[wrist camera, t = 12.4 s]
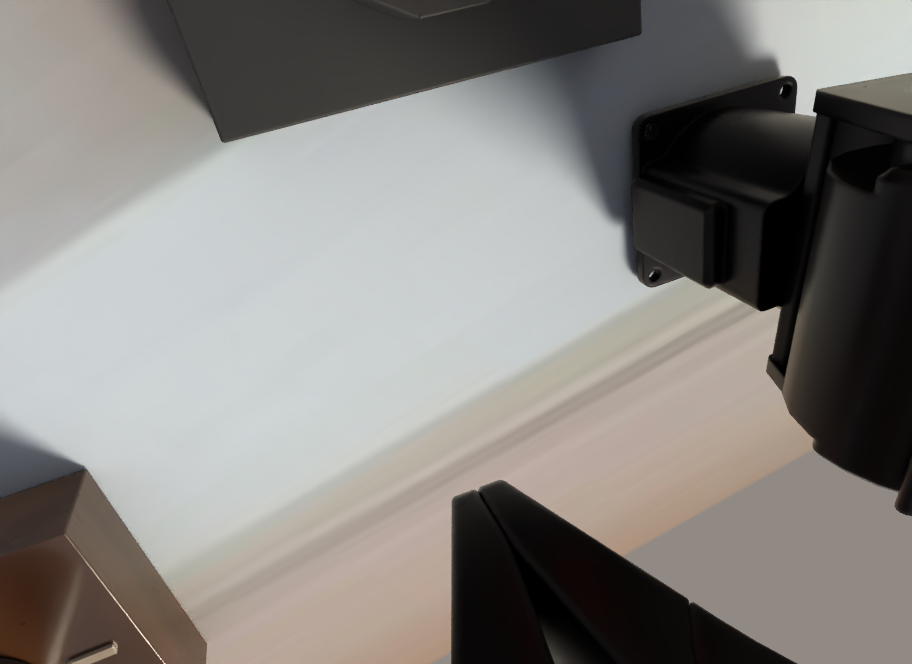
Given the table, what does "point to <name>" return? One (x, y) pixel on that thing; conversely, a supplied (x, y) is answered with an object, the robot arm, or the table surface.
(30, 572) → the knob panel
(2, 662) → the knob
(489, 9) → the button box
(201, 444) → the table surface
